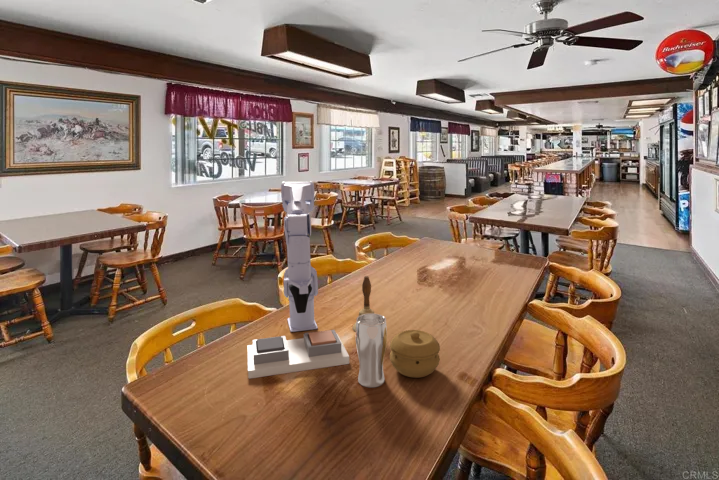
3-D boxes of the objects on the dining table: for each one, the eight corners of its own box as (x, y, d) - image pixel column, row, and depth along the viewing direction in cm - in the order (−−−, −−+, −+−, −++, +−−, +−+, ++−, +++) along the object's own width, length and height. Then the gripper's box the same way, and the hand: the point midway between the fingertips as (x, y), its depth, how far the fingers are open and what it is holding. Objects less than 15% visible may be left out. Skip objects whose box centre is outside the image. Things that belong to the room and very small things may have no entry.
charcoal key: (257, 350, 103) (257, 339, 102) (281, 347, 105) (281, 336, 104) (258, 361, 97) (257, 350, 97) (284, 358, 99) (283, 346, 98)
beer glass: (384, 371, 96) (385, 312, 93) (387, 388, 90) (388, 325, 86) (355, 372, 96) (355, 313, 93) (356, 389, 89) (355, 325, 86)
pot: (391, 384, 91) (391, 343, 89) (387, 358, 103) (388, 321, 100) (443, 384, 91) (445, 343, 89) (434, 358, 102) (435, 321, 100)
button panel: (247, 352, 106) (246, 336, 105) (337, 340, 112) (337, 325, 111) (248, 378, 94) (247, 360, 93) (349, 363, 100) (349, 346, 99)
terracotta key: (308, 343, 106) (308, 332, 106) (331, 340, 108) (331, 330, 107) (312, 354, 101) (312, 343, 100) (336, 351, 102) (335, 340, 102)
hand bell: (385, 331, 118) (385, 278, 114) (358, 336, 115) (358, 282, 111) (373, 320, 125) (374, 271, 122) (348, 324, 122) (348, 274, 119)
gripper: (280, 255, 109) (282, 304, 111) (286, 269, 95) (288, 324, 98) (306, 254, 110) (308, 301, 113) (316, 267, 97) (317, 321, 99)
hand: (301, 312), depth 106 cm, fingers closed
